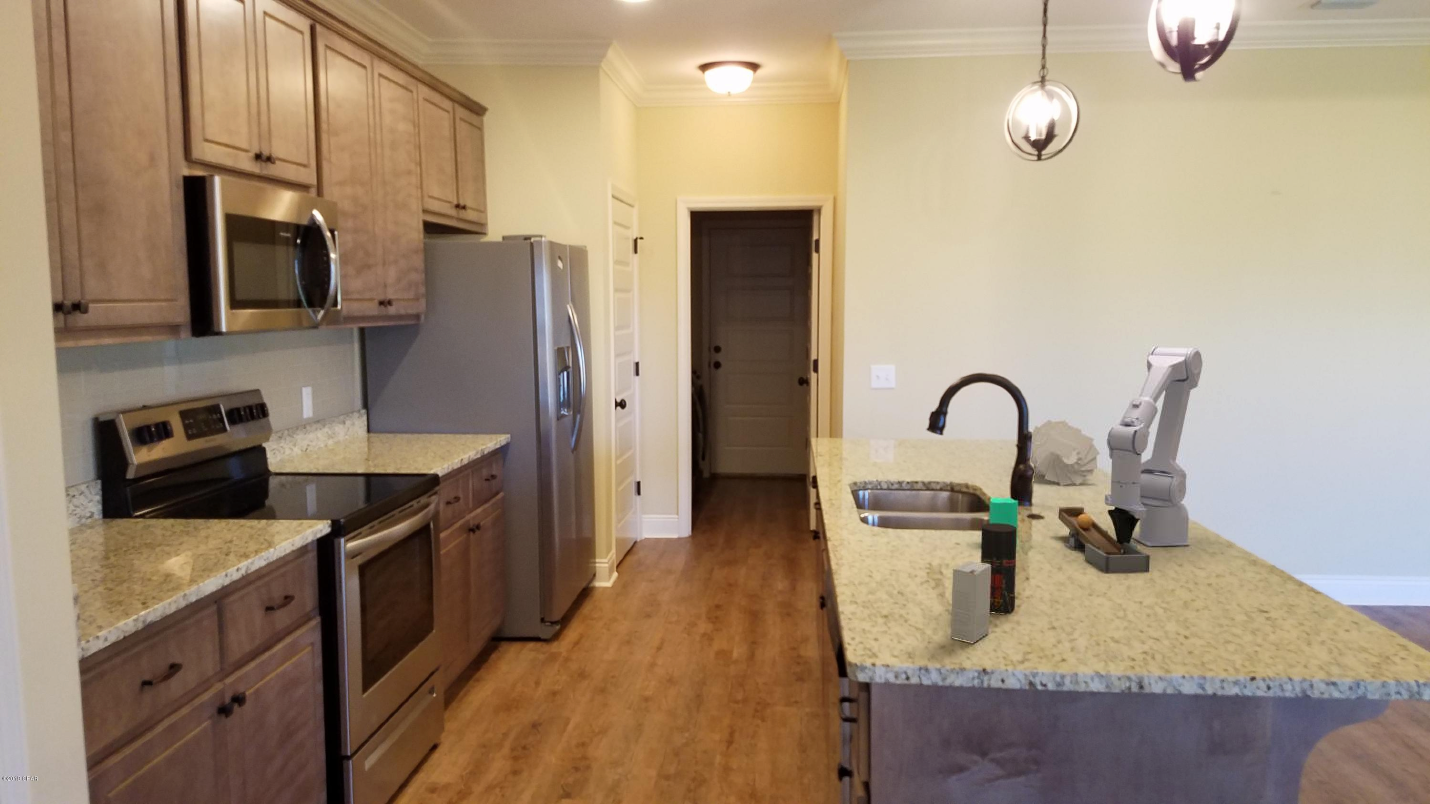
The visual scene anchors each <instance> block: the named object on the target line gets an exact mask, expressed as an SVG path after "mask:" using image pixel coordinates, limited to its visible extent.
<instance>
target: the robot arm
mask: <svg viewBox="0 0 1430 804" xmlns="http://www.w3.org/2000/svg"><path fill="white" fill-rule="evenodd" d="M1146 367H1147V376H1146V379H1145V381H1144V384H1143V386H1142V389H1141V391H1140V394H1139V396H1138V397H1136V398H1133V399H1132V400H1131V401H1130V403H1129V404H1128V406H1127V408H1126V409H1125V411H1124V414H1123V416H1122V418H1121V419H1120V421H1119V423H1118V424H1116V425H1115V426H1113V427H1111V428H1110V429H1109V431H1108V434H1107V438H1106V444H1107V448H1108V452H1109V453H1108V454H1109V455H1108V458H1109V459H1110V460H1111V471H1110V472H1111V473H1110V474H1111V475H1110V477H1111V478H1110V493H1109V494H1108V493H1107V494H1104V504H1105V506H1109V507H1113V509H1107V514H1108V516H1109V518H1110V520H1111V522H1112V525H1113V529H1114V533H1115V538H1116V539H1115V540H1116V541H1117V542H1118V543H1119V544H1123V543H1128V544H1130V541H1132V539H1134V540H1136V541H1137V542H1140V543H1142V544H1143V545H1145V546H1147V547H1166V546H1167V547H1168V546H1170V547H1171V546H1173V547H1174V546H1177V547H1178V546H1189V545H1190V542H1189V541H1188V540H1189V520H1190V519H1189V511H1188V508H1187V506H1186V505H1185V504H1183V503H1182V502H1183V500H1184V499H1185V497H1186V493H1187V473H1186V471H1185V470H1184V469H1183V467H1181V466H1180V465H1179V464H1178V463H1177V462H1176V460H1177V457H1178V451H1179V447H1180V444H1181V443H1180V442H1181V437H1182V432H1183V429H1184V424H1185V418H1186V416H1187V415H1186V414H1187V410H1188V405H1189V399H1190V395H1191V390H1194V389H1195V388H1198V385H1199V382H1200V378H1201V373H1202V369H1203V358H1202V354H1201V351H1199V349H1198V348H1197V347H1190V348H1188V347H1160V346H1153V347H1152V348H1151V349H1150V350H1149V352H1148V354H1147V357H1146ZM1162 394H1164V397H1163V401H1162V406H1161V411H1160V413H1159V412H1158V411H1159V409H1158V407H1157V405H1156V404H1157V402H1158V401H1159V400H1160V398H1161V396H1162ZM1158 413H1159V414H1160V415H1159V421H1158V423H1157V429H1156V434H1155V440H1154V443H1153V449H1152V454H1151V457H1149V458H1148V459H1146V460H1144V461H1143V462H1142V454H1143V453H1145V451H1146V449H1147V447H1148V443H1149V436H1150V433H1151V432H1150V428H1151V426H1152V424H1153V422H1154V420H1155V419H1156V418H1155V417H1157V414H1158ZM1138 524H1139V526H1138V527H1139V528H1138V529H1139V530H1138V532H1139V533H1138V534H1133V533H1134V531H1135V529H1136V526H1137V525H1138Z"/></svg>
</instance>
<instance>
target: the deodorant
mask: <svg viewBox="0 0 1430 804" xmlns="http://www.w3.org/2000/svg"><path fill="white" fill-rule="evenodd" d="M1016 536H1017V537H1018V527H1017V528H1016V527H1015V526H1013V525H1009V524H1002V523H990V522H988V523H985V524H982V525H981V545H980V547H981V549H980V550H981V553H980V563H985V564H990V565H991V583H990V612H995V613H1010V614H1012V613H1011V612H1013V611H1014V610H1016V580H1017V579H1016V578H1017V577H1016V576H1017V574H1016V570H1017V547H1016ZM1014 612H1015V611H1014ZM1014 612H1013V613H1014Z"/></svg>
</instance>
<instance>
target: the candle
mask: <svg viewBox="0 0 1430 804" xmlns="http://www.w3.org/2000/svg"><path fill="white" fill-rule="evenodd" d="M1018 507H1019V501H1018V500H1014V499H1013V498H1011V497H1003V498H1002V497H991V498H990V500H989V523H1002V524H1009V525H1013V526H1015V527H1016V528H1017V529H1018V511H1019V508H1018ZM1017 547H1018V535H1017V536H1016V548H1017Z"/></svg>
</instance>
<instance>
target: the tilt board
mask: <svg viewBox="0 0 1430 804" xmlns="http://www.w3.org/2000/svg"><path fill="white" fill-rule="evenodd" d="M1082 514H1086V515H1088V513H1086V512H1085V507H1083V506H1059V507H1058V517H1057V519H1058V520H1059V521H1061V523H1062V524H1063V525H1064V526H1065V527H1066V528H1067V529H1068V530H1069V531H1070V530H1074V531H1076V532H1077V537H1078V538H1079V539H1080V540H1081V541H1082V542H1083V543H1084V544H1090V545H1092V546H1093V547H1095V548H1097V549H1098V550H1100V551H1102V552H1103V553H1105V554H1106V555H1122V554H1123V544H1119V543H1118V542H1117V539H1115V538H1114V537H1113V536H1112V535H1110V534H1109V532H1108V531H1107V530H1105V529H1104V528H1103V527H1101V525H1099V524H1098V523H1097V521H1095V520H1094V519H1093V518H1092V517H1091V519H1092V525H1091V526H1090V527H1089V528H1086V529H1084V528H1081V527H1079V526H1078V524H1077V518H1078V517H1079V516H1080V515H1082ZM1106 531H1107V532H1108V533H1107V532H1106ZM1130 545H1132V546H1134V547H1135V548H1137V549H1138V545H1137V544H1136V543H1134V542H1133V541H1132V540H1131V541H1130Z"/></svg>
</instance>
